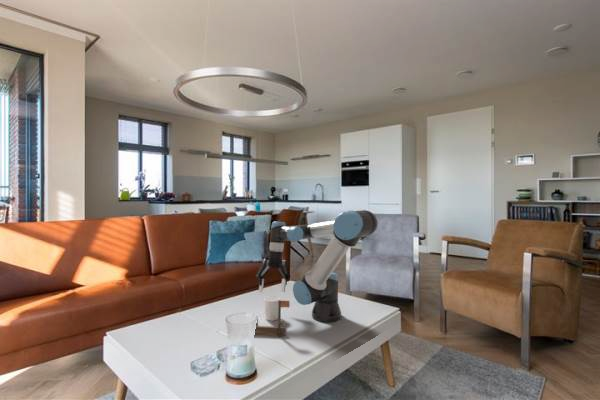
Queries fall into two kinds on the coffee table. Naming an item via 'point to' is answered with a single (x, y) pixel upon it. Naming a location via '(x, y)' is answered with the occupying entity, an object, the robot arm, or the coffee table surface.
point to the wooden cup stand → (273, 330)
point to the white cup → (271, 308)
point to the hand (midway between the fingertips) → (272, 291)
